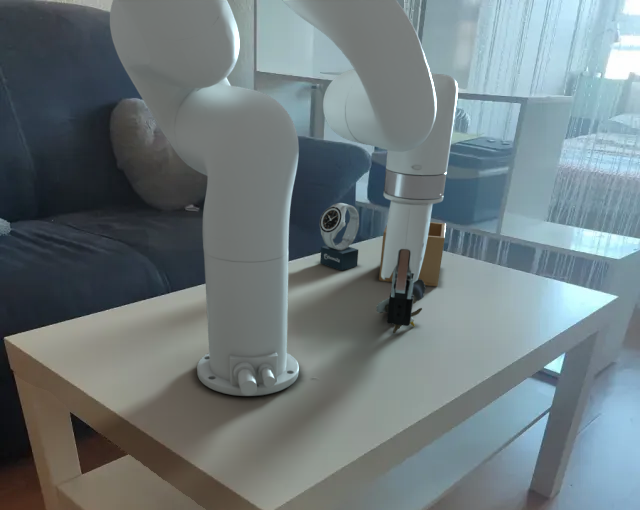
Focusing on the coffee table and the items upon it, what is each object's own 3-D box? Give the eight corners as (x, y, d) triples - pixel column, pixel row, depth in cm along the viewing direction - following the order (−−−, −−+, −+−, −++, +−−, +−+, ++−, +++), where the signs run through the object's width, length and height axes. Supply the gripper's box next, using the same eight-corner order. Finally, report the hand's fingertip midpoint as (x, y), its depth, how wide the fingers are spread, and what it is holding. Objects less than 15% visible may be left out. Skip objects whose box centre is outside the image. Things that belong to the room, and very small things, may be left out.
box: (437, 286, 111) (444, 238, 106) (378, 280, 112) (383, 232, 108) (439, 268, 120) (445, 223, 115) (384, 263, 121) (389, 218, 117)
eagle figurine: (434, 330, 91) (435, 298, 97) (412, 291, 87) (415, 260, 94) (387, 350, 94) (391, 317, 101) (364, 313, 91) (370, 282, 97)
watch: (313, 265, 118) (315, 204, 112) (342, 257, 123) (345, 198, 117) (334, 272, 115) (338, 210, 109) (363, 264, 120) (368, 204, 114)
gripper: (390, 173, 86) (378, 301, 95) (377, 195, 73) (364, 340, 83) (446, 177, 85) (428, 307, 94) (442, 200, 72) (421, 347, 82)
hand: (398, 322), depth 89 cm, fingers closed
